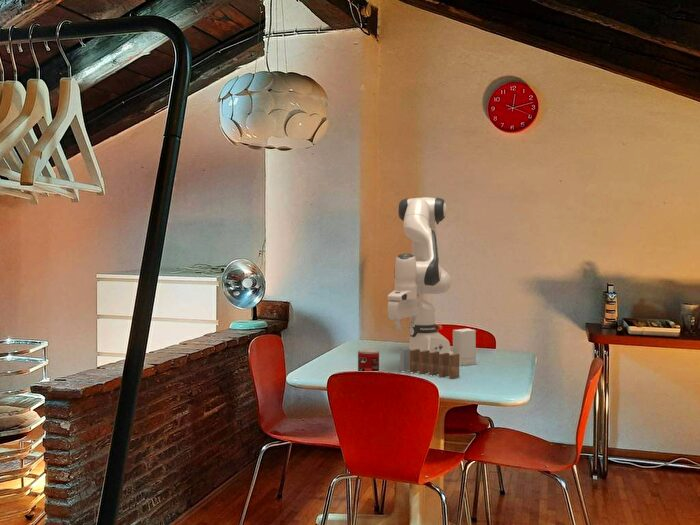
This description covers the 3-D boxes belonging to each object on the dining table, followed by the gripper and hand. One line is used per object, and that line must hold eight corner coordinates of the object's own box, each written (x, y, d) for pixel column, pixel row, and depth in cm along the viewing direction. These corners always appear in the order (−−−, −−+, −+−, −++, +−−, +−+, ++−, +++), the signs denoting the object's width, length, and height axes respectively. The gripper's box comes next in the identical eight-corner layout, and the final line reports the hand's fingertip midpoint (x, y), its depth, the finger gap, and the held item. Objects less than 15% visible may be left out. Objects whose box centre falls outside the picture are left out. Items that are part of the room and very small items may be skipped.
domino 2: (409, 373, 285) (409, 350, 284) (416, 371, 288) (416, 348, 288) (413, 373, 284) (413, 350, 283) (419, 371, 288) (420, 349, 287)
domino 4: (429, 375, 279) (429, 352, 279) (435, 373, 283) (435, 351, 283) (432, 376, 278) (432, 353, 278) (439, 374, 282) (439, 351, 282)
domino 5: (439, 377, 276) (439, 354, 276) (445, 375, 280) (445, 352, 280) (442, 377, 275) (442, 354, 275) (449, 375, 279) (449, 352, 279)
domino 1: (400, 371, 287) (400, 349, 287) (407, 369, 291) (407, 347, 291) (403, 372, 286) (403, 349, 286) (410, 370, 290) (410, 348, 290)
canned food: (357, 377, 276) (357, 348, 276) (377, 376, 277) (377, 348, 276) (359, 381, 268) (359, 352, 268) (380, 380, 269) (380, 351, 269)
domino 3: (419, 374, 282) (419, 351, 281) (426, 372, 286) (426, 350, 285) (422, 374, 281) (422, 352, 280) (429, 372, 285) (429, 350, 284)
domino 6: (449, 378, 273) (449, 355, 273) (455, 376, 277) (455, 353, 277) (452, 379, 272) (452, 355, 272) (459, 377, 276) (459, 353, 276)
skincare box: (468, 362, 308) (468, 328, 308) (476, 364, 303) (476, 329, 302) (451, 363, 305) (452, 329, 304) (460, 366, 299) (460, 330, 299)
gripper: (413, 291, 298) (413, 324, 299) (384, 296, 282) (384, 330, 282) (426, 292, 294) (426, 326, 295) (398, 297, 278) (398, 332, 279)
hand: (405, 328), depth 288 cm, fingers open, 8 cm apart
